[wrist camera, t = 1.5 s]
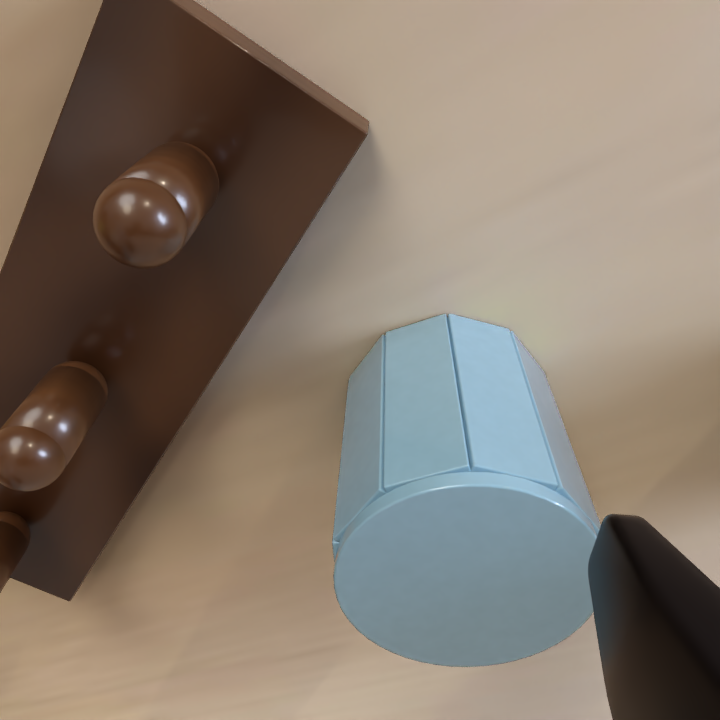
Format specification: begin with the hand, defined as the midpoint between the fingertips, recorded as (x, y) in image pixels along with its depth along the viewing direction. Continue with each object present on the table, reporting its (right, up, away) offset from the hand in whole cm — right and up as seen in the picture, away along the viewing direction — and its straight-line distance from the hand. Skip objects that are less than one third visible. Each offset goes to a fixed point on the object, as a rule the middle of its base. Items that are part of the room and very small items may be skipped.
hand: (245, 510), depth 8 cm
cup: (+5, 0, +15) cm, 16 cm away
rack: (-7, +2, +14) cm, 16 cm away
